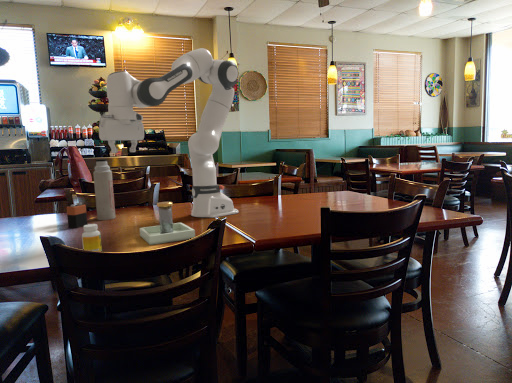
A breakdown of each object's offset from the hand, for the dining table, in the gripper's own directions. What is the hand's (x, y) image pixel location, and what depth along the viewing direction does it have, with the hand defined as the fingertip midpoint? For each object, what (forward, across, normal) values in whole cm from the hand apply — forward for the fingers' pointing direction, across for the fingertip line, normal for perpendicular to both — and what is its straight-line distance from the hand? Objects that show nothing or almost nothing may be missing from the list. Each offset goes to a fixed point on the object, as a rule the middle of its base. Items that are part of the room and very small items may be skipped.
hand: (124, 152), depth 145 cm
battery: (+31, +2, +31) cm, 44 cm away
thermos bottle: (+31, +20, +33) cm, 49 cm away
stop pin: (+30, -2, -19) cm, 36 cm away
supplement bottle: (+31, -28, -11) cm, 44 cm away
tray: (+31, -2, -19) cm, 37 cm away
